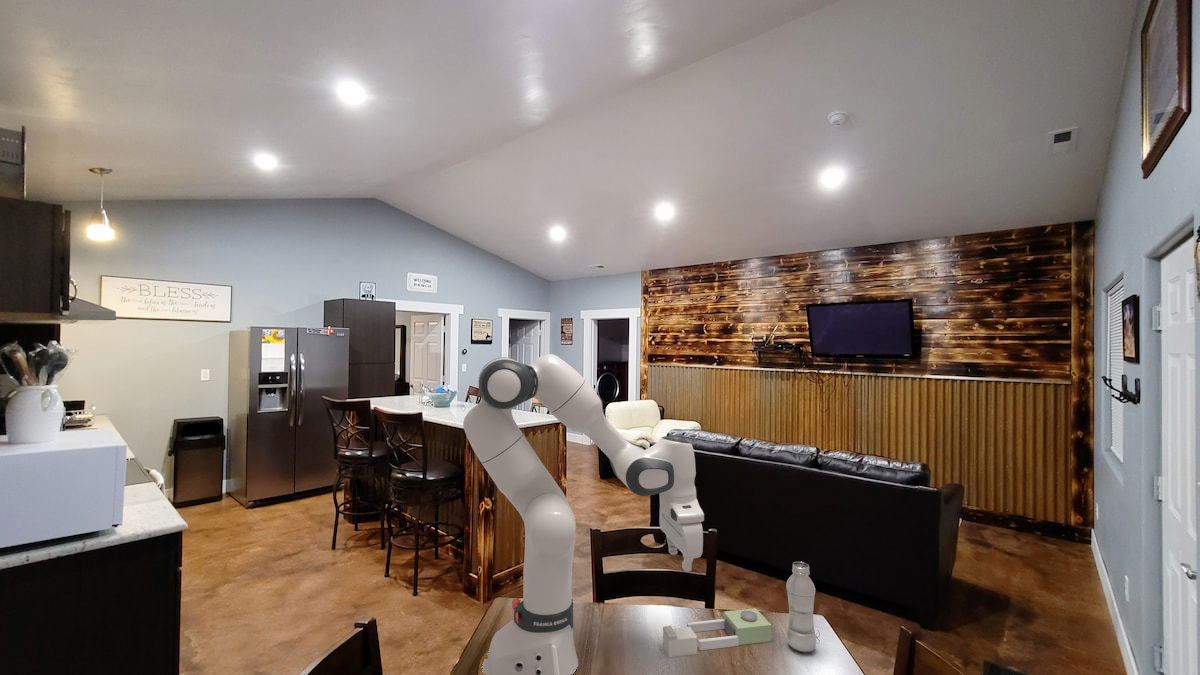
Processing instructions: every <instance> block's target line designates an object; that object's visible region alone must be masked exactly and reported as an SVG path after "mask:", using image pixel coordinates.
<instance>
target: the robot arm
mask: <svg viewBox="0 0 1200 675" xmlns="http://www.w3.org/2000/svg"><path fill="white" fill-rule="evenodd" d="M478 392H479V394H480V396H481V397H480V401H479V403H477V405H475V406H474V407H472V408H471V409H470V410H469V411H468V412H467V413H466V415H465V416H464V419H463V423H462V424H463V425H462V426H463V431H464V433H465V435H466V438H467V439H468V442H469V444H470V446H471V448H472V450H473V451H474V453H475V455H476V457H477V458H478V460H479V462H480V463H481V464H482V466H483V468H484V469H485V471H486V472H487V473H488V475H489V477H490V478H491V479H492V481H493V483H494V484H495V486H496V487H497V488H498V490H499V492H501V494H503V496H505V497H506V499H507V500H508V501H509V502H510V503H511V504H512V506H513V507H514V508H515V510H516V511H517V512H518V513H519V516H521V518H522V521H523V524H524V558H523V576H522V577H523V578H522V579H523V588H522V589H523V592H522V593H523V594H522V595H523V596H522V600H521V599H520V598H518V597H515V598H512V601H511V607H512V608H511V609H512V610H513V619H511V620H510V621H509V622H508V623H507V624H505V625H504V626H503V627H501V628H500V629H499V630H498V631H496V632H495V634H494V635H493V637H492V639H491V642H490V645H489V649H488V650H489V651H488V652H489V653H488V654H487V655H488V659H484V662H483V664H482V665H483V666H482V667H481V668H483V669H482V672H483V673H484V674H486V675H571V674H573V673H574V672H575V671H576V669H577V670H578V668H579V658H578V655H577V653H576V652H577V651H576V648H575V642H574V640H575V639H574V631H573V628H574V622H575V605H574V604H575V603H574V600H573V597H572V596H573V595H572V594H573V593H572V592H573V587H572V586H573V562H574V561H573V560H574V556H575V554H574V553H575V544H576V532H577V531H576V530H577V520H576V517H575V513H574V512H573V510H572V508H571V505H570V504H569V502H568V499H567V496H566V494H565V493H564V492H563V490H562V488H560V486H559V484H558V483H557V482H556V481H555V479H554V477H553V476H552V475H551V473H550V472H549V471H548V469H547V468H546V466H545V465H544V463H543V462H542V461H541V459H540V458H539V456H538V455H537V453H536V452H535V450H534V448H533V447H532V446H531V444H530V442H529V441H528V439H527V437H526V436H525V435H524V433H523V431H522V430H521V429H520V427H519V425H518V424H517V422H516V421H515V419H514V417H513V412H512V411H513V410H512V409H513V408H515V407H518V406H519V405H522V404H523V403H525V402H526V401H529V400H531V399H535V400H537V401H538V402H539V403H540V404H542V406H544V407H545V409H546V410H548V412H549V413H550V414H551V415H552V416H553V417H555V419H556V420H558V422H560V423H561V424H562V425H564V426H565V427H567V428H568V429H570V430H571V431H573V432H578V433H581V434H582V435H585V436H586V437H588V438H589V439H590V440H591V441H592V442H593V443H594V444H595V445H596V446H597V447H598V448H599V450H601V452H603V453H604V455H606V457H607V458H608V460H609V462H610V466H611V468H612V470H613V473H614V475H615V476H616V477H617V479H618V480H619V481H620V482H622V483H623V484H624V485H625V486H626V487H627V488H628V490H630V491H631V492H632V493H633V494H635V495H637V496H640V497H650V496H654V495H658V494H659V518H658V519H659V527H660V528H659V529H660V530H661V531H662V533H664V534H665V536H666V537H665V538H666V541H667V545H668V546H667V547H668V553H669V554H670V555H672V556H674V555H677V554H678V550H679V551H680V552H681V554H682V557H683V561H681V564H682V565H681V567H682V570H683V571H684V572H686V573H687V572H692V566H693V565H692V564H693V561H694V559H698V558H701V556H702V554H703V548H704V534H703V533H704V530H703V525H702V522H705V513H704V511H703V509H702V508H701V506H700V503H699V501H698V499H697V487H696V485H695V481H696V480H695V478H696V475H697V472H696V470H697V469H696V457H695V456H696V455H695V451H694V447H693V444H692V443H691V442H690V441H688V440H687V439H685V438H683V437H682V438H681V437H678V436H672V435H667V436H666V435H665V436H662V437H660V439H659V440H658V441H657V442H656V443H654V444H653V445H652V446H650V447H648V448H646V449H645V448H644V447H642V446H641V445H638V444H636V443H633V442H631V441H628V440H627V439H626V438H624V436H623V435H622V434H620V432H619V431H618V430H617V428H615V427H614V426H613V425H612V424H611V423H610V422H609V420H608V419H607V417H606V416H605V413H604V410H603V402H602V400H601V398H600V397H599V395H598V394H597V392H596V390H595V389H594V387H592V385H591V384H590V383H589V382H588V381H587V380H586V379H585V378H584V377H583V376H582V375H581V374H580V373H579V372H578V371H577V370H576V369H575V368H574V367H572V366H571V365H570V364H569V363H568V362H566V361H565V360H564V359H562V358H561V357H559V356H558V355H556V354H552V353H547V354H544V355H542V356H541V355H540V356H539V357H538V358H536V359H535V360H533V361H532V363H530V364H525V363H522V362H520V361H517V360H516V359H514V358H511V357H507V356H505V357H503V356H502V357H500V356H499V357H497V358H493V359H491V360H489V361H488V362H487V363H486V364H485V365H484V366H483V367H482V369H481V371H480V373H479V377H478ZM577 667H578V668H577ZM576 672H577V671H576ZM576 672H575V673H576ZM575 673H574V674H575Z"/></svg>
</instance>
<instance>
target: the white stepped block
mask: <svg viewBox="0 0 1200 675" xmlns="http://www.w3.org/2000/svg"><path fill="white" fill-rule="evenodd" d="M695 633H696V632H693V630H692V629H691V627H687V626H685V627H677V628H673V627H672V625H666V626H665V625H664V626H662V647H663V649H664V651H665V652H666V654H667V656H668V658H674V657H681V656H691V655H697V654H698V636H697V635H696V634H695Z"/></svg>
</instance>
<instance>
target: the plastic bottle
mask: <svg viewBox="0 0 1200 675" xmlns="http://www.w3.org/2000/svg"><path fill="white" fill-rule="evenodd" d="M809 565H810V564H808V563H806V562H802V561H794V562H793V563H792V567H791V568H792V569H791V571H792V572H791V573H792V574H791V575H790V576H789V578H788V579H787V581H786V584H785V585H786V586H785V587H786V594H787V599H788V621H787V622H788V623H787V627H786V640H787V643H788V644H789V646H790V647H791V648H792V649H793V650H795V651H797V652H800V653H811V652H813V651H814V650H815V649H816V645H817V635H816V630H815V624H814V605H815V604H814V603H815V597H816V596H815V595H816V587H815V584H814V582H813V580H812V579H811V578H810V576H809V575H810V566H809Z"/></svg>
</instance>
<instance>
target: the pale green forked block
mask: <svg viewBox="0 0 1200 675" xmlns="http://www.w3.org/2000/svg"><path fill="white" fill-rule="evenodd" d="M686 627H691V629H692V630H693V632H694V633H699V632H707V631H708V632H709V631H710V632H711V631H716V630H724V632H725V633H726V634H727V635H728V636H718V637H711V638H701V639H700V638H699V639H697V649H698V650H699V651H706V650H716V649H723V648H731V647H738V646H743V645H744V646H745V645H749V644H750V645H751V644H760V643H769V642H772V639H773V637H772V636H773V635H772V634H773V633H772V631H773V630H772V628H773V625H772V624H771V622H769V621H768V619H766V617H765V616H764V615H763V614H762V613H761V612H760V611H759V610H758V609H757V608H755V607H754V608H746V609H736V610H726V611H723V618H720V619H710V620H709V619H708V620H701V621H690V622H686Z"/></svg>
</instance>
